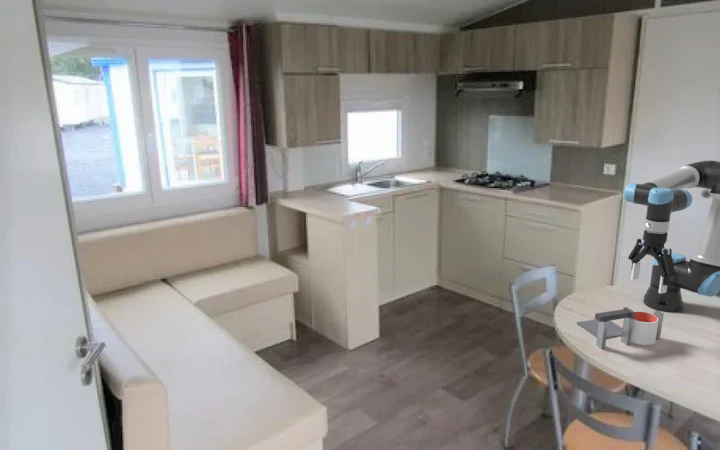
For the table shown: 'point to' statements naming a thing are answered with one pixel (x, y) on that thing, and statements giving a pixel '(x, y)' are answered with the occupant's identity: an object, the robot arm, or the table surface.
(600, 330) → the posts
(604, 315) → the bar
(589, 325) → the mat
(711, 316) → the table surface
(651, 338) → the cup
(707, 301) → the table surface
